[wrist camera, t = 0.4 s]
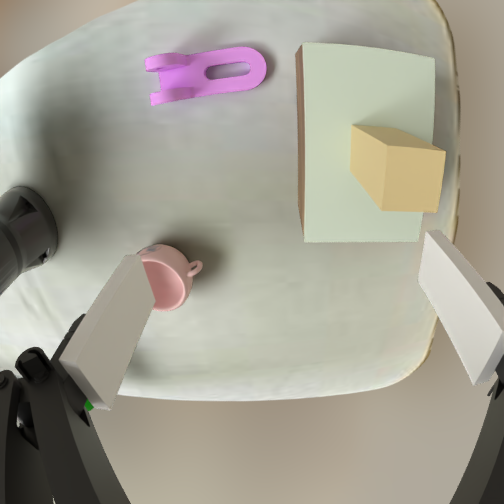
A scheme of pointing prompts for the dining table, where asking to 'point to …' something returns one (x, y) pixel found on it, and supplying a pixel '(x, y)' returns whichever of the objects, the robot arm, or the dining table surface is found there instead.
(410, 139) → the lid
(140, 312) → the robot arm
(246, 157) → the dining table surface
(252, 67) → the bracket
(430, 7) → the dining table surface
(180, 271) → the mug
